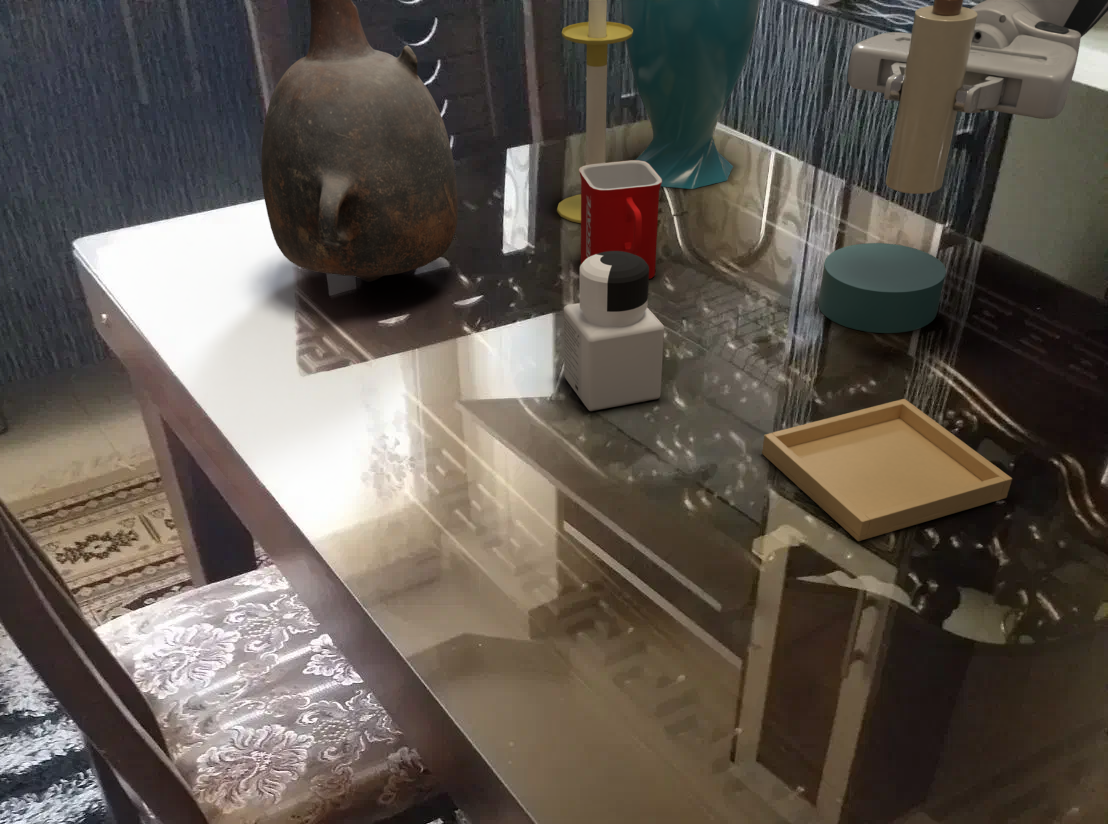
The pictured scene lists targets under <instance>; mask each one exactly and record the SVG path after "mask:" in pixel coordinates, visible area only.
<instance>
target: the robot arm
mask: <svg viewBox="0 0 1108 824" xmlns="http://www.w3.org/2000/svg"><path fill="white" fill-rule="evenodd" d="M970 9H972V10H974V11H976V12H977V20H976V24H975V29H974V34H973V39H972V44H971V49H970V53H969V58H968V63H967V68H966V73H965V77H964V82H963V86H962V88H959V89H958V91H957V93H956V97H955V98H956V102H955V103H954V107H953V110H954V111H957V112H960V113H967V114H978V113H984V112H987V111H991V112H997V113H1005V114H1009V115H1016V116H1022V117H1029V118H1034V119H1041V120H1048V119H1054V118H1057V117H1058V116H1059V115H1060V114H1061V113H1062V112H1063V109H1064V108H1065V105H1066V101H1067V98H1068V96H1069V95H1068V94H1069V91H1070V88H1071V84H1072V81H1073V77H1074V73H1075V69H1076V65H1077V62H1078V56H1079V51H1080V46H1081V45H1080V44H1081V39H1082V37H1084V36H1085V35H1086V34H1087V33H1088V32H1089V31H1091V30H1092V29H1093V27H1094V26H1095V25H1096V24H1098V22H1099V21H1100V20H1101V19H1102V18H1103V17H1104V16H1105V14H1107V12H1108V0H983V1H981V2H979V3H978V4H976V5H975V6H972V7H971V8H970ZM911 33H912V32H911ZM911 33H910V32H901V31H899V32H898V31H892V32H891V31H890V32H884V33H880V34H877V35H874V36H871V37H868V38H865V39H863V40H861V41H859V42H857V43H855V44H854V45H853V47H852V49H851V52H850V58H849V61H848V62H849V63H848V68H847V69H848V70H847V83H848V84H849V86H850V87H851V88H853V89H856V90H860V91H868V92H874V93H881V94H883V100H886V101H893V102H898V103H899V102H900V96H901V90H902V84H903V79H904V73H905V67H906V61H907V56H908V50H909V44H910V39H911Z"/></svg>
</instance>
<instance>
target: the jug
mask: <svg viewBox="0 0 1108 824" xmlns="http://www.w3.org/2000/svg"><path fill="white" fill-rule="evenodd" d="M309 5H310V7H309V8H310V35H309V46H308V50H307V53H306V55H305V56H302V57H301V58H299V59H298V60H296V61H295V62H294V63H292V64H291V65H290V66H289V68H287V70H286V71H285V73H283V75H282V76H281V78H280V79H279V81H278V82H277V84H276V86H275V87H274V90H273V91H272V94H271V97H270V100H269V103H268V107H267V112H266V116H265V120H264V127H263V134H262V143H261V162H260V163H261V164H260V165H261V167H260V169H261V170H260V171H261V183H262V191H263V192H262V193H263V199H264V205H265V208H266V213H267V216H268V221H269V225H270V229H271V232H272V233H271V234H272V235H273V236H272V237H273V239H274V241H275V244H276V246H277V247H278V249H279V251H280V252H281V253H282V255H283V256H284V257H285V258H286V259H287V261H289V262H290V263H291V264H293V265H296V266H297V267H299V268H302V269H304V270H305V269H306V270H309V271H312V272H315V273H321V274H327V275H335V276H347V277H355V278H357V279H359V280H362V281H364V282H368V283H370V282H371V283H372V282H376V281H377V280H379V279H381V278H382V277H384V276H391V275H398V274H403V273H406V272H410V271H413V270H416V269H419V268H421V267H425V266H427V265H429V264H430V263H433V262H434V261H436V260H437V259H439V258H440V257H442V256H443V255H444V254H445V253H446V252H447V251H448V249H449V247H450V246H451V244H452V242H453V240H454V237H455V235H456V230H457V226H458V214H459V213H458V212H459V202H458V199H459V198H458V185H457V178H456V169H455V161H454V156H453V151H452V147H451V144H450V143H451V142H450V140H449V136H448V132H447V129H446V126H445V122H444V120H443V117H442V114H441V112H440V110H439V107H438V105H437V103H436V101H435V99H434V98H433V96H432V94H431V92H430V90H429V89H428V87H427V86H426V84H425V83H424V81H422V79H421V77H420V76H419V75H418V58H417V55H416V54H415V52H414V51H413V49H412V48H411V47H410V46H409V45H404V47H403V48H402V51H401V53H400V54H399V55H398V57H396V56H394V55H392V54H390V53H388V52H386V51H381V50H377V49H375V48H373V47H372V46H371V45H370V42H369V41H368V39H367V37H366V34H365V32H364V28H363V25H362V22H361V19H360V15H359V9H358V7H357V5H356V4H354V2H353V0H309Z"/></svg>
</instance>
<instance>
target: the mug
mask: <svg viewBox="0 0 1108 824" xmlns="http://www.w3.org/2000/svg"><path fill="white" fill-rule="evenodd" d="M578 171H579V176H580V194H581V223H580V265H581V264H582V263H583V262H584V260H585V259H587V258H588V257H590V256H592V255H595V254H598V253H601V252H606V251H623V252H628V253H631V254H634V255H637V256H639V257H641V258H642V259H644V260H645V262H646V263H647V264H648V266H649V280H650V279H652V278H653V277H655V276H656V263H657V261H656V259H657V245H658V244H657V242H658V225H659V221H658V220H659V205H660V202H659V201H660V189H661V187H662V186H661V183H662V179H661V178H660V176H659V175H658V174H657V173H656V172H655V170H654V169H653V168H652V167H651V166H650V164H648V163H647V162H644V161H639V160H635V159H634V160H633V159H632V160H622V161H610V162H605V163H600V164H590V165H586V164H585V165H582V166H580V167H579V169H578Z"/></svg>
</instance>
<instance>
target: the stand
mask: <svg viewBox="0 0 1108 824" xmlns="http://www.w3.org/2000/svg"><path fill="white" fill-rule="evenodd" d="M821 275H822V276H821V282H820V287H819V296H818V301H817V302H818V303H817V305H818V309H819V310H820V312H821V313H822V314H823V316H824V317H826V318H827V319H829V320H830V321H832V322H834V323H835V324H838V325H841V326H842V327H846V328H848V329H853V330H856V331H861V332H867V333H873V334H875V333H876V334H898V333H906V332H912V331H916V330H919V329H921V328H924V327H926V326H927V325H930V324H931V323H932V322H933V321H934V320H935V319H936V317H937V315H938V310H939V305H940V302H941V297H942V292H943V289H944V286H945V285H944V284H945V280H946V276H947V268H946V266H945V264H944V263H943V262H942V261H941V260H940V259H939V258H937V257H936V256H934V255H933V254H930V253H929V252H926V251H925V250H924V251H923V250H922V249H918V248H914V247H911V246H907V245H900V244H895V243H886V242H868V243H867V242H866V243H857V244H851V245H848V246H843V247H841V248H838V249H835V250H834V251H832V252H831V253H829V254H828V255H827V256H826V258H825V259H824V263H823V268H822V274H821Z"/></svg>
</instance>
